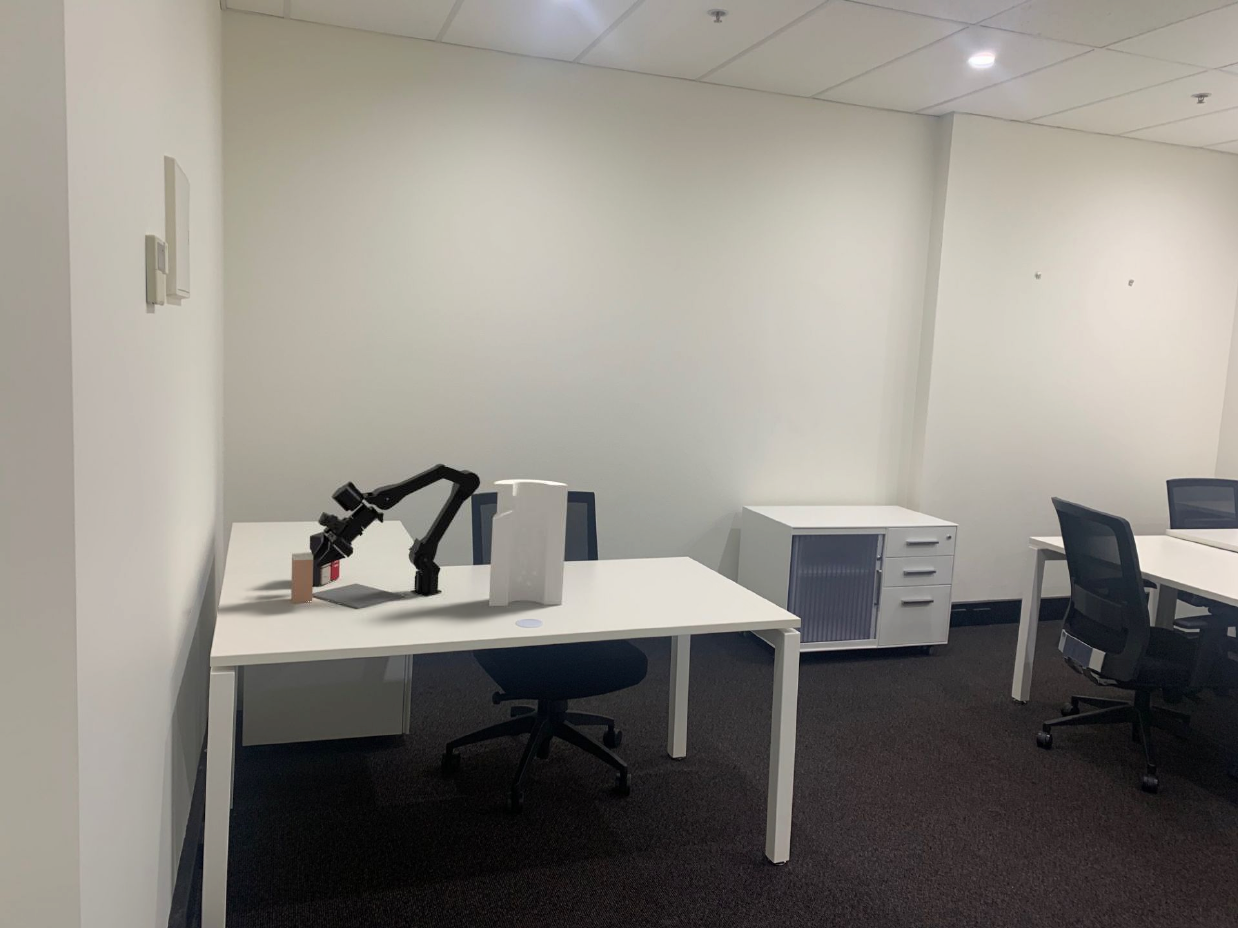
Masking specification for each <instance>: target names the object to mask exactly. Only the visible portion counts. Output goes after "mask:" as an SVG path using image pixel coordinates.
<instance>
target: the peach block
mask: <svg viewBox="0 0 1238 928" xmlns="http://www.w3.org/2000/svg"><path fill="white" fill-rule="evenodd" d="M290 588H291V589H290V590H291V591H290V598H291V601H293V602H292V604H301V603H300V602H306V603H311V602H310V601H312V602H313V597H312V594H313V593H314V592H313V589H314V588H313V555H312V553H311V551H309V552H292V553H291V587H290ZM308 601H309V602H308Z"/></svg>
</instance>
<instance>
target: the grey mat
mask: <svg viewBox="0 0 1238 928" xmlns="http://www.w3.org/2000/svg"><path fill="white" fill-rule="evenodd" d="M312 596H314V597H313V598H316V597H317V599H320V598H321V599H320V600H323V599H324V601H327V600H329V601H328V602H331V601H333V602H332V603H334V602H336V603H335V604H338V603H340V604H339V605H342V606H345V605H346V607H350V608H352V607H353V609H356V610H359V609H364V608H368V607H370V606H376V605H379V604H383V603H386V602H390V601H395V600H397V599H403V598H404V597H405V595H404V594H399V593H396V592H395V593H394V592H393V591H388V590H384V589H379V588H375V587H373V586H368V585H364V584H360V583H351V584H348V585H342V586H338V587H334V588H329V589H326V590H321V591H316V592H313V594H312Z"/></svg>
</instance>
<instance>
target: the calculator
mask: <svg viewBox="0 0 1238 928" xmlns="http://www.w3.org/2000/svg"><path fill="white" fill-rule="evenodd" d="M322 533H324V534H326V533H325V532H324V531H321V532H317V533H314V534H312V535H310V536H309V550H310V552H311V553H312V555H314V553H315V552H316V550H317V549H318V547H319V546H320V544H321V542H322V540H323V535H322ZM321 558H322V557H320V558H318V559H316V560H314V559H313V585H314V587H322V586H324V585H326V584H325V583H327V584H329V583H331V582H334V581H335V580H338V579H339V578H340V563H341V562H340V560H341V559H340V560H337V561H335V562H332V563H329V564H327V565H324V566H322V567H318V566H317V565H316V564H317V563H318V561H319V560H320V559H321ZM333 580H334V581H333ZM330 581H331V582H330ZM328 582H329V583H328ZM321 585H322V586H321Z"/></svg>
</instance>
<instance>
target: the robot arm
mask: <svg viewBox="0 0 1238 928" xmlns="http://www.w3.org/2000/svg"><path fill="white" fill-rule="evenodd" d="M443 479H444V480H447V481H450V482H452V486H451V490H450V491H451V492H450V495H449V496H448V498H447V500H446V502H445V503H444V504H443V506H442V508H441V510H440V511H439V513H438V515H437V516H436V518H435V520H434V521H433V522H432V524H431V526H430V527H429V529H428V531H427V533H426V534H425V536H424V537H422V538H421V539H418V537H416V538H415V540H414V541H413V544H412V545H411V546H410V547H409V548H408V550H409V553H408V559H409V562H410V563H411V564H412V565H413V566H414V567H415V569H416V570H415V575H414V584H413V585H414V586H413V587H414V588H413V589H412V590H410V593H412V594H417V595H421V596H424V597H429V596H432V595H437V594H440V593H442V590H441V589H439V573H440V572H441V567H440V566H439V565H438V564H437V563H436V562H435V558H436V556H437V552H438V547H439V543H440V542H441V541H442V539H443V537H444V536H445V533H446V532H447V530H448V529H449V527H450V525H451V524H452V522H453V520H454V518H455V517H456V515H457V514H458V512H459V510H460V509H461V508H462V505H463V504H464V503H465V502H466V501H467V500H468V499H469V498H471V497H472V496H473V495H474V494H475V492H476V491H477V490H478V489H479V488H480V485H481V479H480V477H479V475H478V474H477V473H476V472H473V471H471V470H468V469H463V470H459V469H456V468H453V467H449V466H448V465H445V464H443V463H438V464H436V465H434V466H432V467H431V468H429V469H426V470H424V471H422V472H420V473H418V474H416V475H415V474H414V475H413V476H411V477H409V478H406V479H404V480H402V481H400V482H396V483H392V484H387V485H384V486H379V487H376V488H375V489H373V490H372V491H369V492H368V491H367V492H361V491H360V490H359V489H358V488H357V486H356V485H355V484H354V483H353V482H352V481H350V480H349V481H348V482H346V483H345V484H344V485H342V486H341V487H339V488H337V489H336V490H335V491H334V492H333V494H332V496H331V498H332V500H333V501H335V502H336V503H337V505H339V506H340V507H341V508H342V509H343V510H344V511H345V512H349V511H350V512H352V513H351V514H350V515H348V517H347V516H345V517H342V518H341V519H340V518H339V516H337V515H334V514H333V513H331V514H329V513H327V512H324V511H323V512H322V514H321V515H320V517H319V519H318V521H317V523H318V524H319V525H320V526H322V527H325V528H324V529H322V532H325V533H326V534H324V533H322V535H323V540H322V542H321V544H320V546H319V547H318V549H317V550H316V552H315V553H314V555H313V559H314V560H316V559H318V558H320V557H322V558H321V559H320V560H319V561H318V563H317V564H316V565H317V566H318V567H322V566H324V565H327V564H329V563H332V562H335V561H337V560H344V559H346V558H350V557H351V555H353V553H354V547H353V546H352V545H353V543H352V542H354V541H355V540H356V539H357V537H359V536H360V537H361V536H362V535H363V534H364V533H363V532H364V531H365V530H366V529H367V528H368V527H369V526H371V525H372V524H373V523H374V521H375V520H378V522H380V523H381V524H382V523H384V515H385V513H384V512H382V511H387V510H391V509H392V508H393V507H395V505H398V504H399V503H400V502H402V500H403V499H405V497H407V496H409V495H411V494H413V493H416V492H417V491H420V490H421V489H424V488H426V487H428V486H430V485H431V484H434V483H437V482H438V481H441V480H443ZM363 501H365V502H366V503H367V504H369V505H370V506H367V504H366V503H364V502H363ZM374 506H375V507H376V508H377V509H379V510H381V512H379V511H378V510H377V509H376V508H375V507H374Z"/></svg>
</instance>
